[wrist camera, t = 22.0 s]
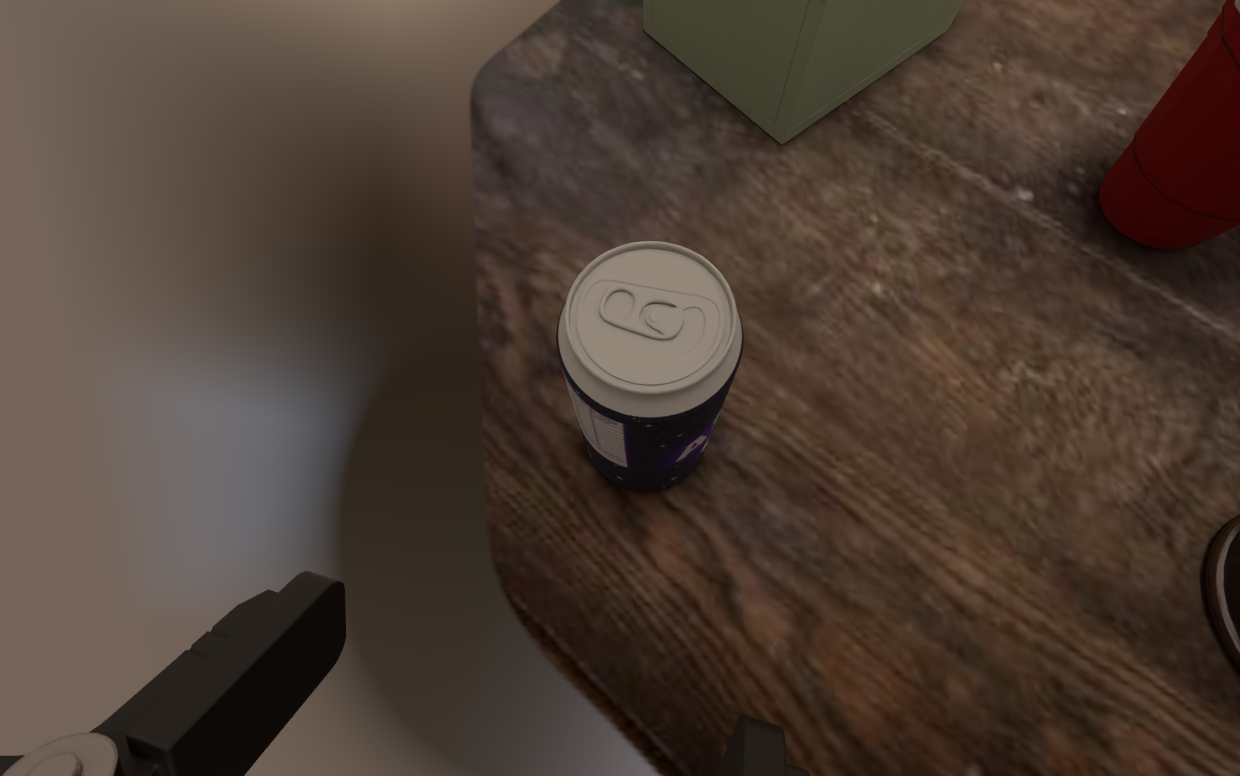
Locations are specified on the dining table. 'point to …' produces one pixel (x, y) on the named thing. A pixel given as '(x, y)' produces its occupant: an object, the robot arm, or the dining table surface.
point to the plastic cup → (1185, 152)
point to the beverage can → (648, 360)
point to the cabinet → (794, 49)
